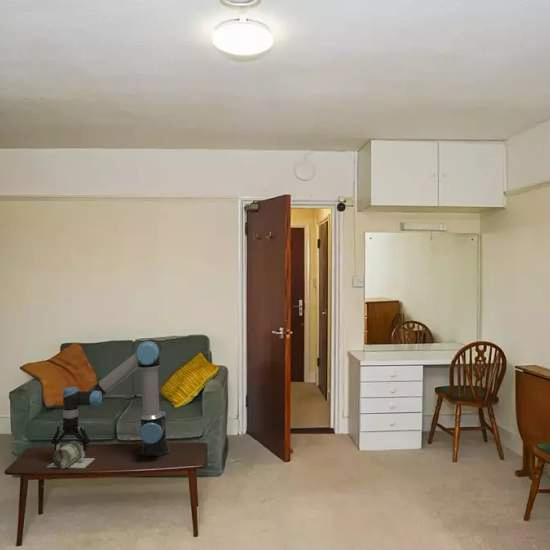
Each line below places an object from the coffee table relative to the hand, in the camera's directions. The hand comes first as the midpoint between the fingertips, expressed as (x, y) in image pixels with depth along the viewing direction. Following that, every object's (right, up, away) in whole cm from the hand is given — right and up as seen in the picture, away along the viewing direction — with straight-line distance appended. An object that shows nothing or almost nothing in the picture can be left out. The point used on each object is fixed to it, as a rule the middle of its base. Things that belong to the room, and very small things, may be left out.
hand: (70, 456), depth 279 cm
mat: (0, -4, +1) cm, 4 cm away
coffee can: (-1, +2, -8) cm, 9 cm away
